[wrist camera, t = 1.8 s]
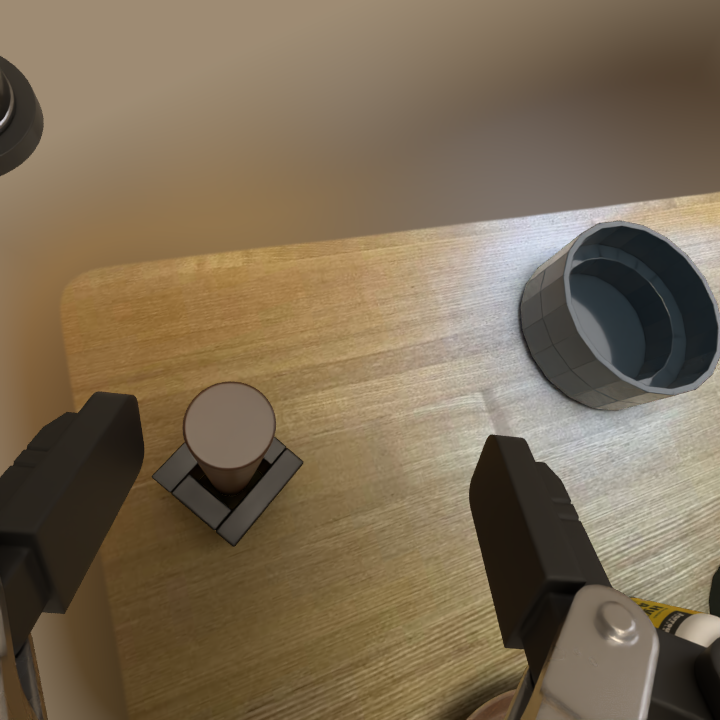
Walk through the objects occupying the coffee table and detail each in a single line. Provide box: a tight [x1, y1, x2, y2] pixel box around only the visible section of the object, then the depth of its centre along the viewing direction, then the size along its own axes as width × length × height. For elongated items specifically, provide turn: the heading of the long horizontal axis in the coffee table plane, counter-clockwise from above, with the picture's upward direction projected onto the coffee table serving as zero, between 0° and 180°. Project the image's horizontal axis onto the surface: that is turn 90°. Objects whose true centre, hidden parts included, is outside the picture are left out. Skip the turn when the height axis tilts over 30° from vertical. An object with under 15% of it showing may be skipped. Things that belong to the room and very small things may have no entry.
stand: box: [152, 437, 303, 547], centre depth 27 cm, size 5×5×7 cm
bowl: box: [521, 221, 720, 411], centre depth 38 cm, size 14×14×6 cm
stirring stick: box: [183, 382, 276, 496], centre depth 21 cm, size 2×2×20 cm
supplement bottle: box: [629, 597, 720, 647], centre depth 29 cm, size 5×5×10 cm
